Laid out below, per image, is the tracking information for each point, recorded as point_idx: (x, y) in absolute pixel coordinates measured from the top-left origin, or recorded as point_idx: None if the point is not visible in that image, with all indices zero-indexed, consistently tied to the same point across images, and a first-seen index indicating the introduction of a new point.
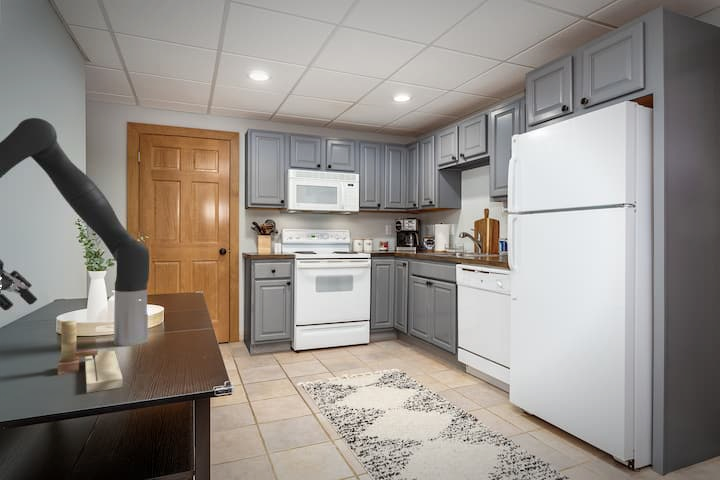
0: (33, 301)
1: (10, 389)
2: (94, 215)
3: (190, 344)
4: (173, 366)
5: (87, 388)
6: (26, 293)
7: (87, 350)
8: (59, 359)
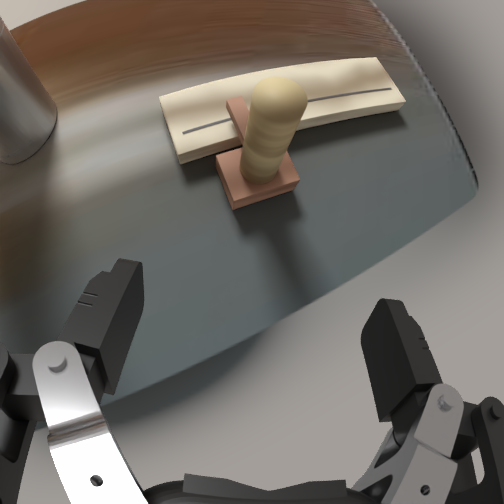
0: (142, 278)
1: (376, 255)
2: None
3: (98, 17)
4: (255, 12)
5: (401, 105)
6: (114, 338)
7: (237, 118)
8: (242, 195)
